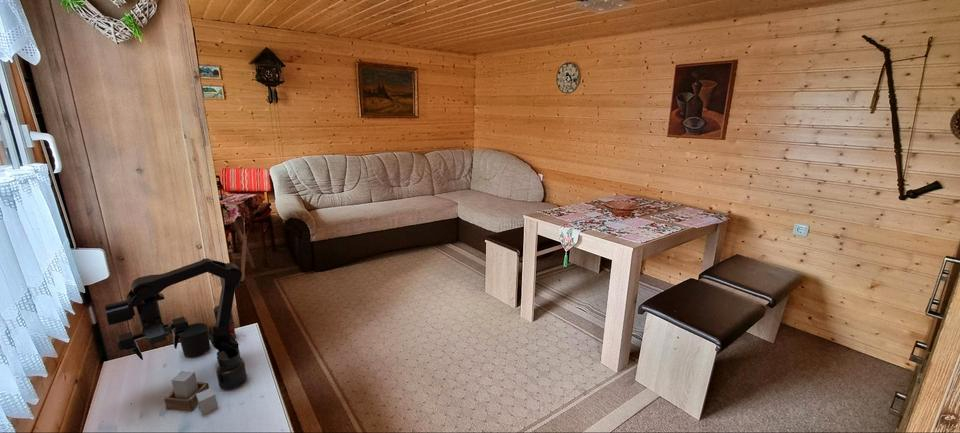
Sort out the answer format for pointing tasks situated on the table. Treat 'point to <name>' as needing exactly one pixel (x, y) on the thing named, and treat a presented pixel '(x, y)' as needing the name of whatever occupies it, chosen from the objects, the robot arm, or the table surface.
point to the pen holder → (195, 340)
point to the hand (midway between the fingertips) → (159, 353)
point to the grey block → (206, 401)
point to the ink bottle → (230, 369)
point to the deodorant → (229, 323)
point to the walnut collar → (184, 404)
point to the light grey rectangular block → (185, 385)
